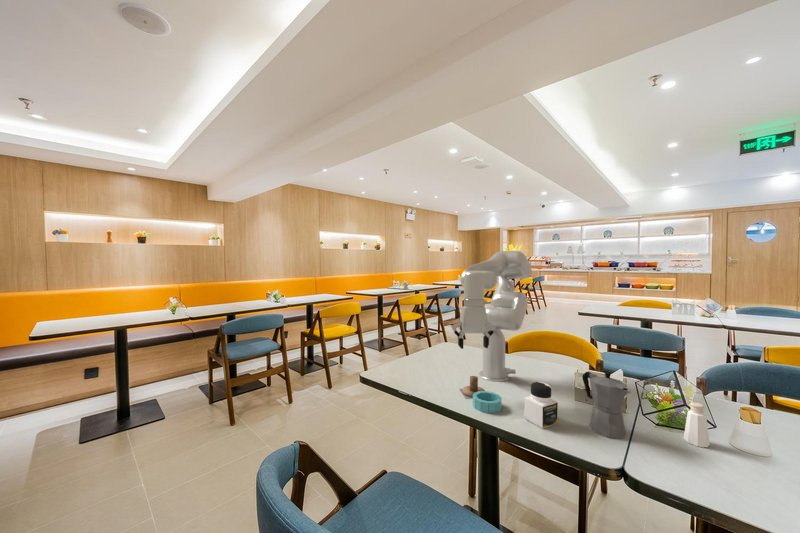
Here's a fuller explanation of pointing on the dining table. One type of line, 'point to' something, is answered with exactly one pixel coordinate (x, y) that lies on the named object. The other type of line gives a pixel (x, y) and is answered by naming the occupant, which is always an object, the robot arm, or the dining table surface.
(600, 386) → the coffeepot
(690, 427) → the salt shaker
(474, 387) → the lid
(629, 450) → the dining table surface
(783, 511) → the dining table surface
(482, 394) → the bowl
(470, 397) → the mat
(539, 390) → the medicine bottle
